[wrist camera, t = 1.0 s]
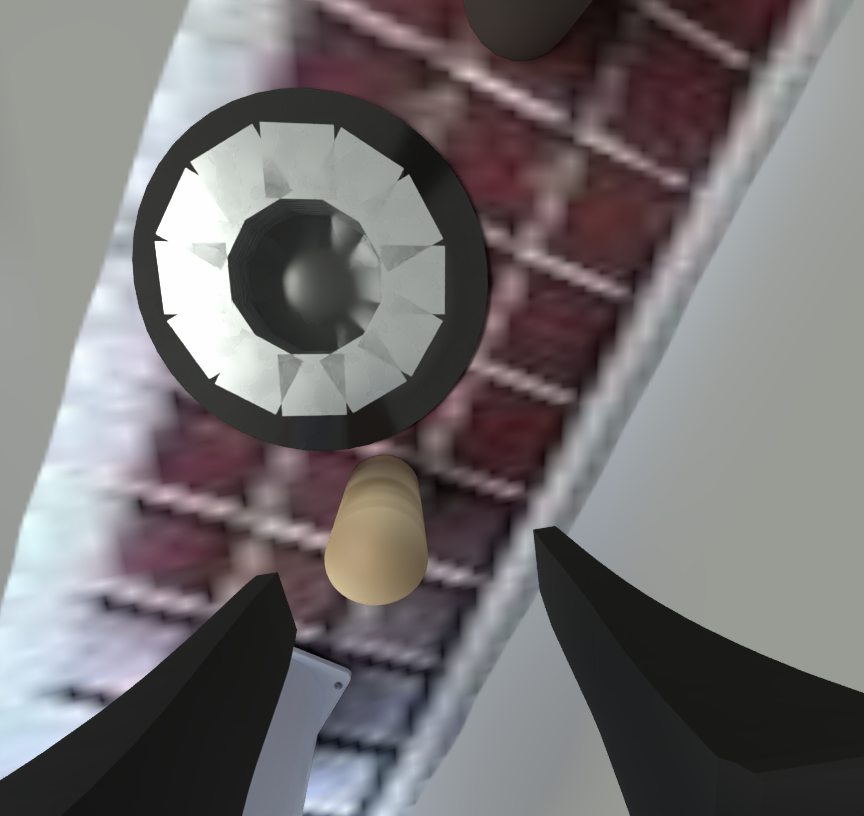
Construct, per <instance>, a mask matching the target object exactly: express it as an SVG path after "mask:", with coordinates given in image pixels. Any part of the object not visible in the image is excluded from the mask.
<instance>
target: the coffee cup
mask: <svg viewBox="0 0 864 816" xmlns="http://www.w3.org/2000/svg"><path fill="white" fill-rule="evenodd" d="M592 1H593V0H463V2H464V8H465V11H466V14H467V17H468V21H469V24H470V26H471V28H472V29H473V31H474V32H475V34H476V35H477V37H478V38H479V40H480V41H481V43H482V44H484V45H485V46H486V47H487V48H489V49H490V50H491V51H492V52H494V53H495V54H496V55H498V56H501V57H504V58H507V59H510V60H513V61H517V60H532V59H534V58H537V57H539V56H542V55H544V54H546V53H548V52H549V51H550V50H551V49H552V48H553V47H555V46H556V45H557V44H558V43H559V42H560V41H561V40H562V39H563V37H564V36H565V35H566V34H567V32H568V31H569V30H570V29H571V27H572V26H573V25H574V24H575V22H576V21H577V20H578V19H579V17H580V16H581V15H582V14H583V12H584V11H585V10H586V8H587V7H588V6H589V5H590V3H591V2H592Z"/></svg>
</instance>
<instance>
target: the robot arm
mask: <svg viewBox="0 0 864 816" xmlns="http://www.w3.org/2000/svg"><path fill="white" fill-rule="evenodd" d="M533 533H534V542H535V551H536V561H537V570H538V579H539V588H540V593H541V596H542V599H543V602H544V605H545V608H546V611H547V613H548V616H549V620H550V623H551V625H552V628H553V630H554V632H555V635H556V637H557V639H558V641H559V643H560V645H561V648H562V650H563V652H564V654H565V656H566V658H567V661H568V662H569V665H570V667H571V669H572V671H573V674H574V676H575V678H576V680H577V682H578V684H579V687H580V689H581V691H582V693H583V695H584V697H585V699H586V701H587V704H588V706H589V708H590V710H591V713H592V715H593V717H594V720H595V722H596V724H597V727H598V729H599V732H600V734H601V737H602V739H603V742H604V745H605V747H606V750H607V753H608V756H609V758H610V761H611V764H612V767H613V769H614V772H615V775H616V778H617V780H618V783H619V786H620V789H621V792H622V794H623V797H624V800H625V803H626V805H627V808H628V811H629V814H630V816H864V693H862V692H859V691H857V690H853V689H851V688H848V687H845V686H842V685H840V684H837V683H834V682H831V681H828V680H825V679H823V678H819V677H817V676H814V675H811V674H809V673H806V672H804V671H801V670H798V669H796V668H794V667H791V666H789V665H786V664H784V663H781V662H779V661H777V660H774V659H772V658H769V657H767V656H764V655H762V654H760V653H757V652H755V651H753V650H751V649H748V648H746V647H744V646H741V645H739V644H737V643H735V642H733V641H731V640H729V639H727V638H725V637H723V636H721V635H719V634H717V633H715V632H712V631H710V630H708V629H706V628H704V627H702V626H700V625H698V624H697V623H695V622H693V621H691V620H689V619H687V618H685V617H683V616H682V615H680V614H678V613H676V612H675V611H673V610H671V609H669V608H668V607H666V606H664V605H662V604H661V603H659V602H657V601H656V600H654V599H652V598H651V597H649V596H647V595H646V594H644V593H643V592H641V591H640V590H638V589H637V588H635V587H634V586H632V585H631V584H629V583H628V582H626V581H625V580H623V579H622V578H621V577H619V576H618V575H616V574H615V573H614V572H612V571H611V570H610V569H608V568H607V567H606V566H604V565H603V564H602V563H600V562H599V561H598V560H596V559H595V558H594V557H593V556H591V555H590V554H589V553H587V552H586V551H585V550H584V549H582V548H581V547H580V546H579V545H578V544H576V543H575V542H574V541H573V540H572V539H570V538H569V537H568V536H567V535H566V534H564V533H563V532H562V531H561V530H560V529H558V528H557V527H556V526H553V527H547V528H541V529H535V530H533ZM296 633H297V629H296V626H295V623H294V620H293V617H292V614H291V611H290V608H289V605H288V602H287V599H286V596H285V593H284V590H283V587H282V584H281V581H280V578H279V575H278V572H276V573H270V574H264V575H258V576H255V577H254V578H253V579H252V580H251V581H249V582H248V583H247V584H246V585H245V586H244V587H243V588H242V589H241V590H240V591H238V592H237V593H236V594H235V595H234V596H233V597H232V598H231V599H230V600H229V601H228V602H227V603H226V604H225V605H224V606H223V607H222V608H220V609H219V610H218V611H217V612H216V613H215V614H214V615H213V616H212V617H211V618H210V619H209V620H208V621H207V622H206V623H205V624H203V625H202V626H201V627H200V628H199V629H198V630H197V631H196V632H195V633H194V634H193V635H192V636H191V637H189V638H188V639H187V640H186V641H185V642H184V643H183V644H182V645H180V646H179V647H178V648H177V649H176V650H175V651H174V652H173V653H171V654H170V655H169V656H168V657H167V658H166V659H165V660H163V661H162V662H161V663H160V664H159V665H158V666H157V667H156V668H154V669H153V670H152V671H151V672H150V673H148V674H147V675H146V676H145V677H144V678H142V679H141V680H140V681H139V682H138V683H136V684H135V685H134V686H133V687H131V688H130V689H129V690H128V691H126V692H125V693H124V694H122V695H121V696H120V697H119V698H117V699H116V700H115V701H114V702H112V703H111V704H110V705H108V706H107V707H106V708H104V709H103V710H102V711H100V712H99V713H98V714H96V715H95V716H94V717H92V718H91V719H89V720H88V721H87V722H85V723H84V724H82V725H81V726H80V727H78V728H77V729H75V730H74V731H73V732H71V733H70V734H68V735H67V736H65V737H64V738H63V739H61V740H60V741H58V742H57V743H56V744H54V745H53V746H51V747H50V748H49V749H47V750H46V751H44V752H43V753H41V754H40V755H38V756H37V757H35V758H34V759H32V760H31V761H29V762H28V763H26V764H25V765H23V766H22V767H20V768H19V769H17V770H16V771H14V772H12V773H11V774H9V775H8V776H6V777H5V778H3V779H2V780H0V816H302V812H303V807H304V802H305V797H306V792H307V786H308V781H309V776H310V771H311V766H312V760H313V755H314V750H315V745H316V740H317V735H318V733H319V731H320V730H321V728H322V726H323V725H324V723H325V721H326V720H327V718H328V717H329V715H330V713H331V712H332V710H333V708H334V707H335V705H336V703H337V702H338V700H339V699H340V697H341V695H342V694H343V692H344V690H345V689H346V687H347V685H348V684H349V682H350V680H351V671H350V670H349V669H347V668H345V667H343V666H340V665H338V664H335V663H333V662H330V661H328V660H325V659H323V658H320V657H318V656H315V655H313V654H310V653H308V652H305V651H303V650H300V649H298V648H295V647H294V643H295V638H296ZM337 682H340V683H341V684H337Z"/></svg>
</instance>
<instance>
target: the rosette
mask: <svg viewBox="0 0 864 816" xmlns="http://www.w3.org/2000/svg"><path fill="white" fill-rule="evenodd" d="M132 262H133V275H134V285H135V290H136V295H137V300H138V304H139V309H140V312H141V314H142V317H143V320H144V323H145V326H146V329H147V332H148V334H149V336H150V338H151V340H152V342H153V344H154V346H155V348H156V350H157V352H158V354H159V355H160V357H161V358H162V360H163V361H164V363H165V364H166V366H167V367H168V369H169V370H170V372H171V373H172V375H173V376H174V377H175V378H176V379H177V381H178V382H179V383H180V384H181V385H182V386H183V388H184V389H185V390H186V391H187V392H188V393H189V394H190V395H191V396H192V397H193V398H194V399H195V400H196V401H197V402H199V403H200V404H201V405H202V406H203V407H204V408H205V409H207V410H208V411H209V412H211V413H212V414H213V415H215V416H216V417H218V418H219V419H220V420H222V421H223V422H225V423H227V424H228V425H230V426H232V427H234V428H236V429H237V430H239V431H241V432H243V433H245V434H248V435H250V436H252V437H255V438H257V439H260V440H262V441H265V442H269V443H272V444H276V445H279V446H283V447H288V448H294V449H301V450H313V451H332V450H343V449H351V448H355V447H360V446H364V445H369V444H372V443H374V442H377V441H380V440H383V439H386V438H388V437H390V436H392V435H394V434H396V433H398V432H400V431H402V430H404V429H406V428H408V427H409V426H411V425H412V424H414V423H415V422H417V421H418V420H419V419H421V418H422V417H424V416H425V415H426V414H427V413H428V412H429V411H431V410H432V409H433V408H434V407H435V406H436V405H437V404H439V403H440V401H441V400H442V399H443V398H444V397H445V396H446V395H447V393H448V392H449V391H450V390H451V389H452V388H453V386H454V385H455V383H456V382H457V380H458V379H459V377H460V376H461V374H462V373H463V371H464V370H465V368H466V366H467V364H468V362H469V360H470V358H471V356H472V354H473V352H474V350H475V347H476V344H477V341H478V338H479V335H480V332H481V329H482V325H483V320H484V315H485V311H486V302H487V290H488V276H487V260H486V254H485V248H484V241H483V237H482V234H481V231H480V227H479V224H478V220H477V217H476V215H475V212H474V210H473V208H472V205H471V203H470V201H469V198H468V196H467V194H466V192H465V191H464V189H463V187H462V185H461V184H460V182H459V180H458V179H457V177H456V175H455V174H454V172H453V171H452V170H451V168H450V167H449V166H448V164H447V163H446V162H445V161H444V159H443V158H442V157H441V155H440V154H439V153H438V152H437V151H436V150H435V149H434V148H433V147H432V146H431V145H430V144H429V143H428V142H427V141H426V140H425V139H424V138H423V137H422V136H421V135H420V134H419V133H417V132H416V131H415V130H413V129H412V128H411V127H410V126H408V125H407V124H406V123H404V122H403V121H402V120H400V119H398V118H397V117H395V116H393V115H392V114H390V113H388V112H387V111H385V110H383V109H382V108H380V107H377V106H375V105H373V104H370V103H368V102H366V101H363V100H361V99H358V98H356V97H352V96H348V95H345V94H341V93H337V92H333V91H327V90H319V89H310V88H288V89H276V90H271V91H265V92H259V93H255V94H252V95H249V96H246V97H243V98H240V99H237V100H234V101H232V102H230V103H228V104H226V105H224V106H222V107H220V108H218V109H216V110H214V111H212V112H211V113H209V114H208V115H206V116H205V117H204V118H202V119H201V120H200V121H198V122H197V123H195V124H194V125H193V126H191V127H190V128H189V129H188V130H187V131H186V132H185V133H184V134H183V135H182V136H181V137H180V138H179V139H178V140H177V141H176V142H175V143H174V144H173V145H172V147H171V148H170V149H169V151H168V152H167V154H166V155H165V156H164V158H163V159H162V160H161V162H160V163H159V164H158V166H157V168H156V170H155V172H154V174H153V176H152V178H151V180H150V181H149V183H148V185H147V187H146V190H145V193H144V196H143V199H142V202H141V204H140V207H139V210H138V215H137V220H136V225H135V230H134V238H133V256H132Z"/></svg>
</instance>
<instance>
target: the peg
mask: <svg viewBox="0 0 864 816" xmlns="http://www.w3.org/2000/svg"><path fill="white" fill-rule="evenodd" d="M427 564H428V551H427V543H426V535H425V528H424V520H423V512H422V505H421V497H420V490H419V483H418V479H417V476H416V474H415V472H414V471H413V469H412V468H411V467H410V466H409V465H408V464H407V463H406V462H404V461H403V460H401V459H399V458H397V457H393V456H388V455H378V456H373V457H370V458H368V459H366V460H364V461H362V462H361V463H360V464H359V465H357V466H356V468H355V469H354V470H353V471H352V473H351V475H350V477H349V480H348V483H347V486H346V489H345V492H344V495H343V498H342V501H341V505H340V508H339V511H338V514H337V517H336V520H335V523H334V526H333V529H332V532H331V535H330V538H329V541H328V544H327V548H326V552H325V568H326V572H327V575H328V577H329V579H330V581H331V583H332V584H333V586H334V587H335V588H336V589H337V590H338V591H339V592H340V593H341V594H342V595H344V596H345V597H347V598H349V599H351V600H353V601H355V602H358V603H361V604H366V605H384V604H389V603H392V602H395V601H398V600H400V599H402V598H404V597H405V596H407V595H408V594H410V593H411V592H412V591H413V590H414V589H415V588H416V587H417V586H418V585H419V583H420V582H421V580H422V578H423V577H424V575H425V572H426V569H427Z"/></svg>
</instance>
